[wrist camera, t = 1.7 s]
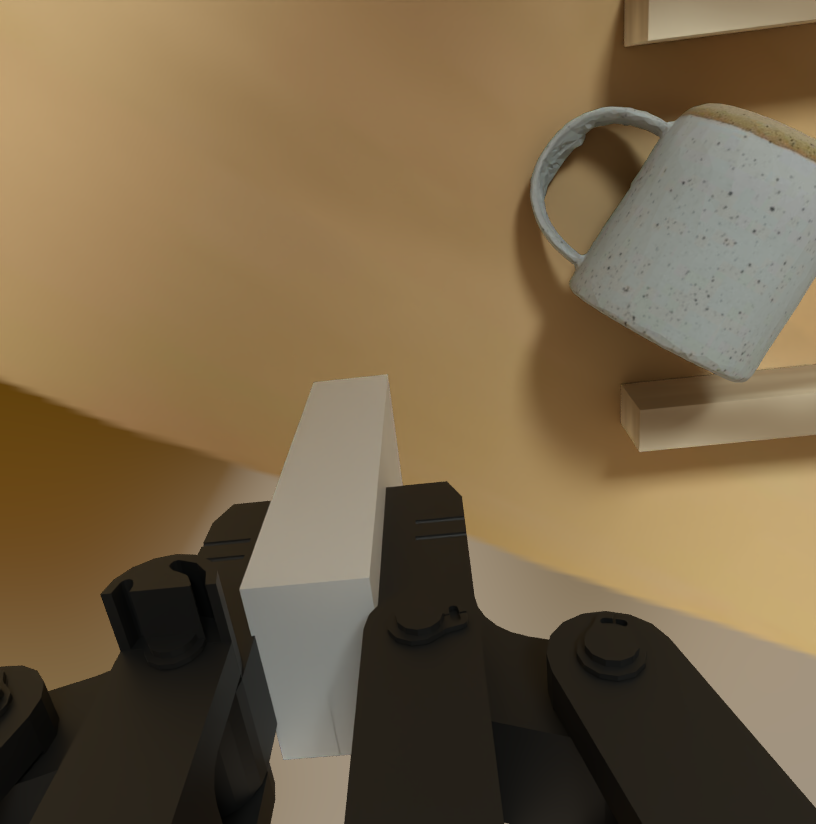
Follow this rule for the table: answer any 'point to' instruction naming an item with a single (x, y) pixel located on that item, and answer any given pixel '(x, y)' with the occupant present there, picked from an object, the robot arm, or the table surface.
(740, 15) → the beam channel
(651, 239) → the ceramic mug
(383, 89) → the table surface
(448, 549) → the robot arm
